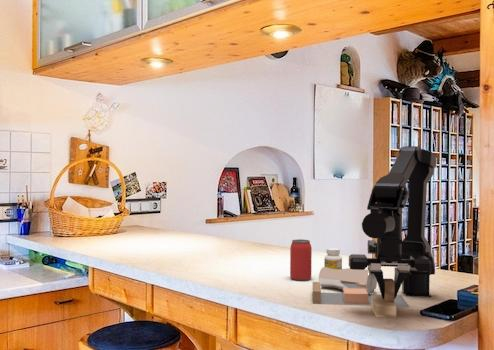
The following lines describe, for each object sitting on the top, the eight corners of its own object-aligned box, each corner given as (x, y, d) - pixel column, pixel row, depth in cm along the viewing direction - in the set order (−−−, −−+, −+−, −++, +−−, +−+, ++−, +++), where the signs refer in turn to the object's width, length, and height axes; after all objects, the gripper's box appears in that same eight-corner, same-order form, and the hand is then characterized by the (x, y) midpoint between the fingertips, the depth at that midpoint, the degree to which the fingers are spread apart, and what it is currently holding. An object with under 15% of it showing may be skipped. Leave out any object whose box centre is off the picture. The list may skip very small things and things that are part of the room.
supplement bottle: (345, 280, 164) (345, 249, 164) (334, 282, 160) (334, 251, 160) (331, 277, 168) (331, 247, 168) (320, 279, 164) (320, 248, 164)
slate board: (401, 296, 144) (401, 284, 144) (409, 308, 132) (409, 294, 132) (312, 293, 147) (312, 281, 147) (312, 304, 135) (313, 291, 135)
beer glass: (331, 279, 157) (379, 285, 148) (321, 294, 152) (370, 300, 143) (325, 260, 155) (373, 264, 146) (315, 274, 150) (364, 280, 141)
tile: (365, 298, 141) (365, 288, 141) (368, 303, 135) (368, 294, 135) (342, 297, 141) (342, 288, 141) (344, 303, 135) (344, 293, 135)
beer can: (290, 276, 169) (290, 239, 169) (311, 276, 168) (311, 239, 168) (290, 280, 162) (290, 241, 162) (311, 281, 162) (311, 242, 162)
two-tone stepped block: (390, 308, 132) (390, 276, 131) (396, 318, 123) (396, 284, 122) (371, 307, 132) (371, 275, 132) (375, 317, 123) (376, 283, 123)
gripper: (422, 230, 134) (421, 291, 134) (347, 228, 136) (346, 289, 136) (432, 236, 123) (431, 303, 123) (350, 234, 125) (350, 300, 125)
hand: (388, 298), depth 127 cm, fingers closed on two-tone stepped block, 2 cm apart
